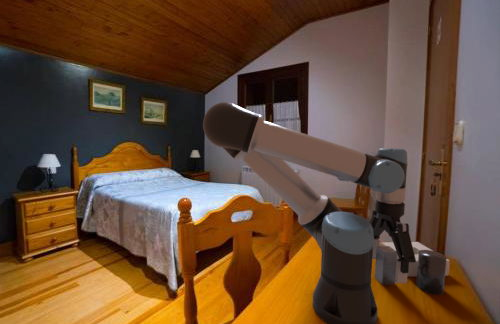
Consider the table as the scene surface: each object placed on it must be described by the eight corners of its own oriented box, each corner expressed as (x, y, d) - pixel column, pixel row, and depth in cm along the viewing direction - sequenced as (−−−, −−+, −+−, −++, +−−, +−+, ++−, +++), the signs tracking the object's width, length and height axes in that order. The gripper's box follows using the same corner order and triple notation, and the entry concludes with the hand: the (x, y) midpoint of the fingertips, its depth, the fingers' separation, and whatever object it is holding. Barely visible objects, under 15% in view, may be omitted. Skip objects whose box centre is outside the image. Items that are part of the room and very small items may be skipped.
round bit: (427, 295, 68) (430, 260, 67) (411, 281, 74) (413, 249, 74) (449, 294, 68) (452, 260, 67) (431, 281, 75) (434, 249, 74)
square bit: (382, 284, 73) (384, 252, 72) (374, 277, 77) (376, 246, 76) (395, 284, 73) (397, 252, 72) (387, 276, 77) (389, 246, 76)
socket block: (405, 276, 77) (406, 261, 77) (380, 255, 91) (380, 242, 91) (448, 275, 78) (449, 260, 77) (416, 254, 92) (417, 241, 91)
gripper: (435, 213, 60) (430, 294, 62) (378, 191, 85) (375, 250, 87) (406, 213, 60) (401, 295, 62) (357, 191, 85) (354, 250, 87)
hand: (386, 269), depth 75 cm, fingers open, 13 cm apart
